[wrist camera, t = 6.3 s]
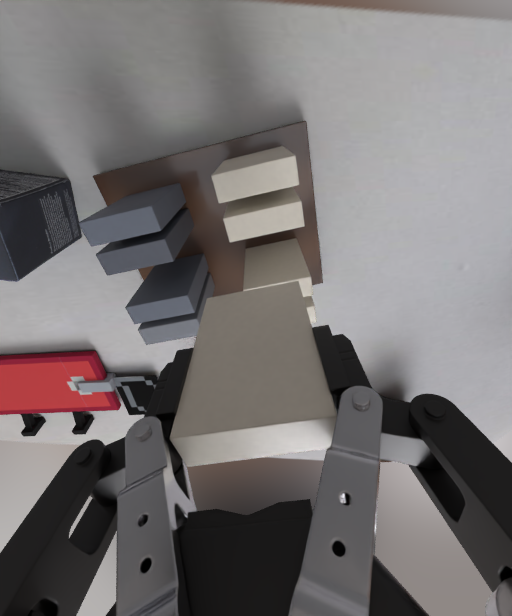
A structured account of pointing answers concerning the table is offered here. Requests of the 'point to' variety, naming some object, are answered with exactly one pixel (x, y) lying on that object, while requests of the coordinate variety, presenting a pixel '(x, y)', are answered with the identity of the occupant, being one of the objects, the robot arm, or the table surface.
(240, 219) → the white books
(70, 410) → the red board with handle
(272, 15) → the table surface
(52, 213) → the small box
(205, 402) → the cream thin block
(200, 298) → the grey books
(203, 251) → the board
